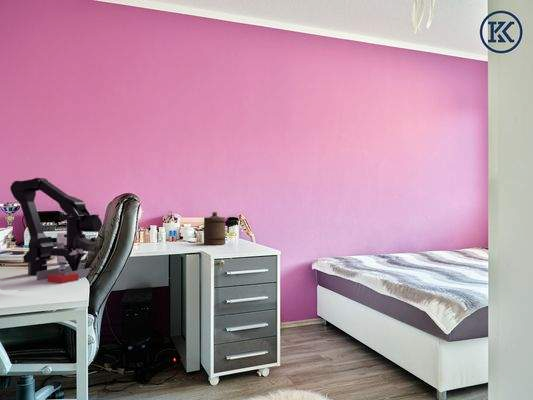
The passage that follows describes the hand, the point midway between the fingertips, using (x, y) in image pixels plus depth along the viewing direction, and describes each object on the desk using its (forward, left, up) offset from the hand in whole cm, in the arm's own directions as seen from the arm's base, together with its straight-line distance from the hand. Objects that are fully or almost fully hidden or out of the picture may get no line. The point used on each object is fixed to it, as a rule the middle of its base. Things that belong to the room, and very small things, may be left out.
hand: (74, 271), depth 159 cm
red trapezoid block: (+4, -10, -2) cm, 11 cm away
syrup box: (-31, +27, -2) cm, 41 cm away
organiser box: (0, +1, -2) cm, 2 cm away
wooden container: (-1, +128, -2) cm, 128 cm away
